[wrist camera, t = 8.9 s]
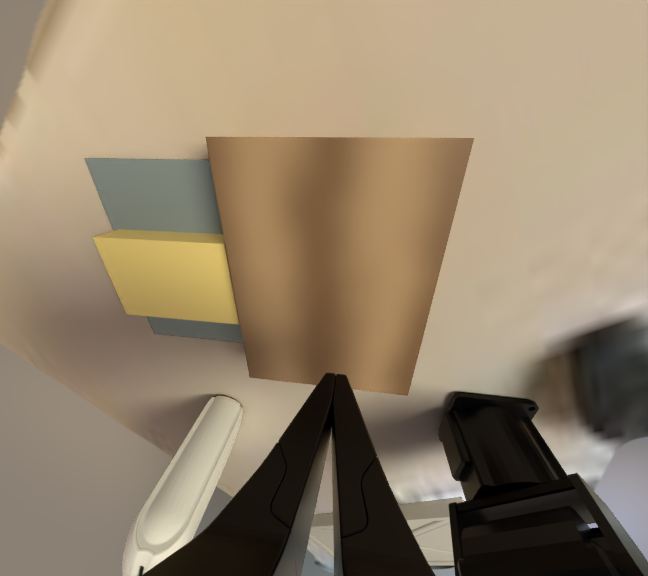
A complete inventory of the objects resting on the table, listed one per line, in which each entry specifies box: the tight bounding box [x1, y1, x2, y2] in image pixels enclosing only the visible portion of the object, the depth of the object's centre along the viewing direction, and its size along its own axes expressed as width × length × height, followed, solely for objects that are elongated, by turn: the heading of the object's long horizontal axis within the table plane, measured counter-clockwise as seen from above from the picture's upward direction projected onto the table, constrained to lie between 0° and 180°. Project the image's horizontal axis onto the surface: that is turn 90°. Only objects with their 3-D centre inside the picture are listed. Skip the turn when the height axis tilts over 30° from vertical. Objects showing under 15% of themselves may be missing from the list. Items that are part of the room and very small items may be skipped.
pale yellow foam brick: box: [92, 229, 240, 324], centre depth 18 cm, size 9×6×2 cm, turn 89°
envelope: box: [309, 497, 464, 565], centre depth 34 cm, size 24×2×14 cm
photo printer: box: [122, 396, 243, 576], centre depth 22 cm, size 10×4×12 cm, turn 159°
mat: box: [85, 158, 243, 343], centre depth 18 cm, size 10×14×1 cm
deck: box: [206, 137, 474, 396], centre depth 16 cm, size 12×16×3 cm
